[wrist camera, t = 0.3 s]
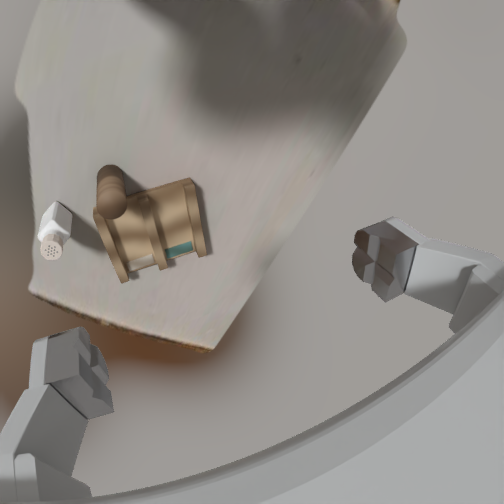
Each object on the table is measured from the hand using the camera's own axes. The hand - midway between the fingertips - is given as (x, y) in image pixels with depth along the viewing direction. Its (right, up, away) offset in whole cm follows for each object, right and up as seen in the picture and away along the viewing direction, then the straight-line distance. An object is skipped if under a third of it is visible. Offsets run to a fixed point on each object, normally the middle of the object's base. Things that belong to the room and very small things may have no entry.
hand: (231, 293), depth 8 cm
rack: (-16, +5, +42) cm, 45 cm away
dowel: (-20, +12, +33) cm, 41 cm away
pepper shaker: (-29, +7, +33) cm, 45 cm away
